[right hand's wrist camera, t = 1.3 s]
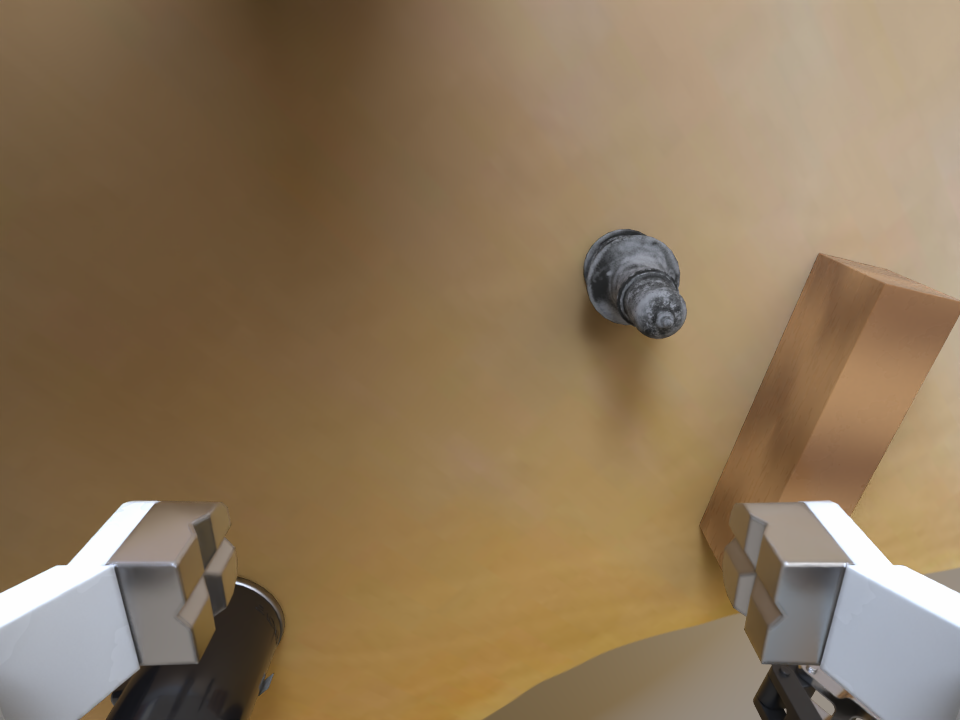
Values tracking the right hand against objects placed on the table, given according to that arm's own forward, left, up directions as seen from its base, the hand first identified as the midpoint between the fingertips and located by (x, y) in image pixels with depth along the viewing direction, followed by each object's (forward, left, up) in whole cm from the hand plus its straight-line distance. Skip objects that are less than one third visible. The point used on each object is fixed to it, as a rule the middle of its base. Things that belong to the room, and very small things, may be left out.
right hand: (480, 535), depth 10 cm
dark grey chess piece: (+2, +10, -35) cm, 36 cm away
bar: (+9, +26, -35) cm, 44 cm away
